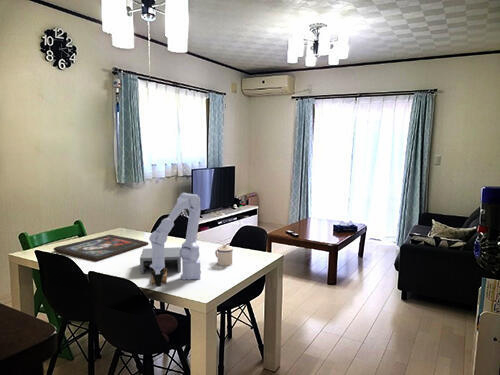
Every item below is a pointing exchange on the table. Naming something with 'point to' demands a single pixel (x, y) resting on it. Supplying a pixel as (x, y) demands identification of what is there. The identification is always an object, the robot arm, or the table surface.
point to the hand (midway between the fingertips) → (158, 283)
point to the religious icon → (101, 247)
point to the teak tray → (164, 278)
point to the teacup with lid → (224, 255)
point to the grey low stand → (169, 255)
